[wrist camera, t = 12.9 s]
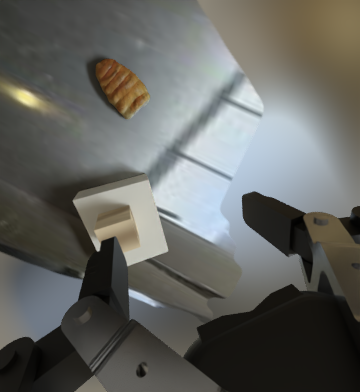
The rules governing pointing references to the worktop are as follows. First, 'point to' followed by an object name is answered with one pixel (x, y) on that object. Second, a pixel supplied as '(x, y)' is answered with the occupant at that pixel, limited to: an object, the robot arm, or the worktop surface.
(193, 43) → the worktop surface
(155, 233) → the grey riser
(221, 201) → the worktop surface
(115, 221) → the maple block
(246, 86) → the worktop surface
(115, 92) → the pastry
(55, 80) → the worktop surface
